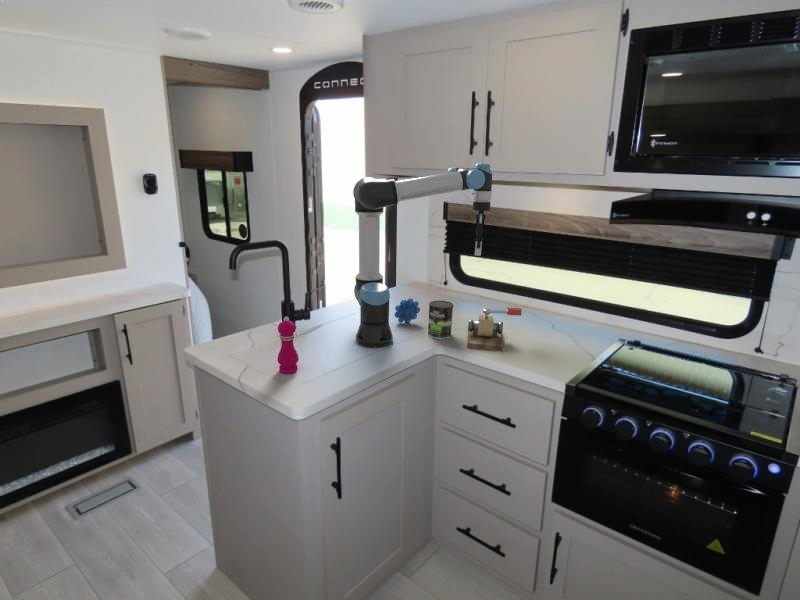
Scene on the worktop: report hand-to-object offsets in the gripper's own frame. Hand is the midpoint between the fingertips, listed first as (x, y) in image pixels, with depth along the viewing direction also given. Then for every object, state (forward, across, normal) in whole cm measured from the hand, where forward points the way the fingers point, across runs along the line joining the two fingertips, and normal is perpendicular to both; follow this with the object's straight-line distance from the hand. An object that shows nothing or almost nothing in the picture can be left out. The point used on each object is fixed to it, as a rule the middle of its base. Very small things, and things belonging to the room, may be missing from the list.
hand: (477, 255), depth 214 cm
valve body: (+30, +19, +5) cm, 36 cm away
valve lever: (+20, +18, +11) cm, 30 cm away
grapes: (+33, +4, -30) cm, 44 cm away
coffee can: (+33, +17, -14) cm, 39 cm away
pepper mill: (+33, +64, -64) cm, 96 cm away
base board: (+32, +19, +5) cm, 38 cm away
